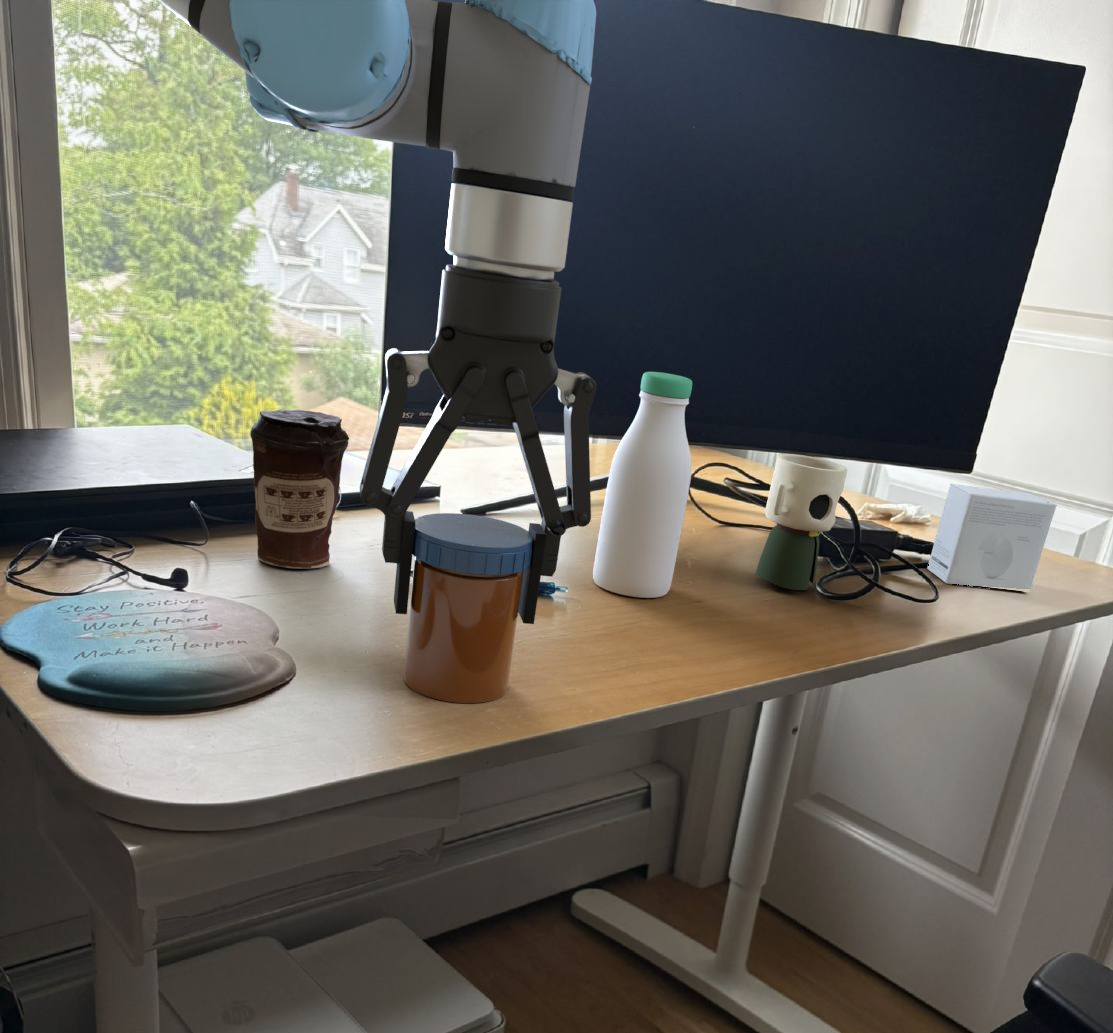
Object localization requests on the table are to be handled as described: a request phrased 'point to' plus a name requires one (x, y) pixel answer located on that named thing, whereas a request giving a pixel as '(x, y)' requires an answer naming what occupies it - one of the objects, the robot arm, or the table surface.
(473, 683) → the jar
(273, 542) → the coffee cup
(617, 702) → the table surface
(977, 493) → the cosmetics box
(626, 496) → the milk bottle
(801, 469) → the character mug
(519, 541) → the jar lid
